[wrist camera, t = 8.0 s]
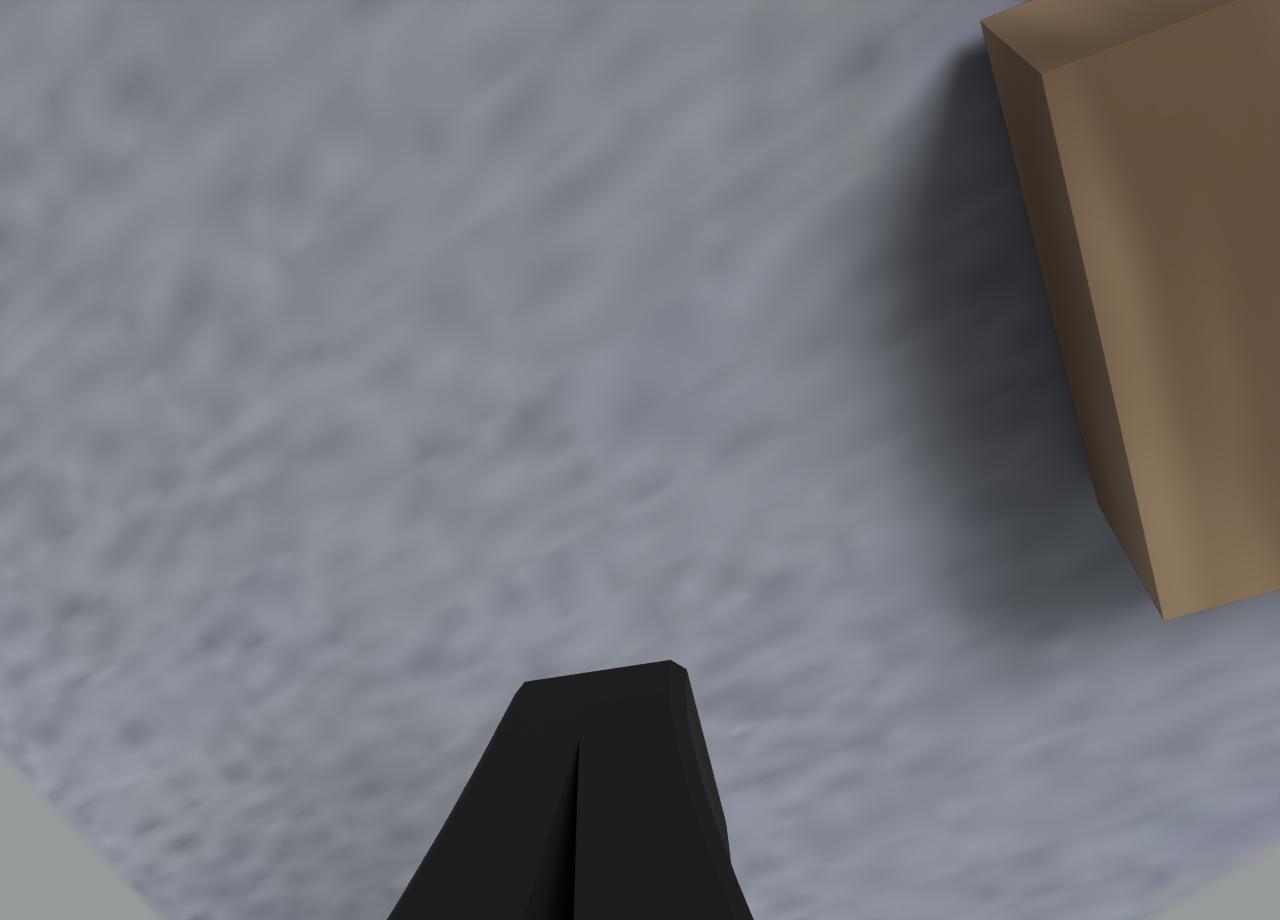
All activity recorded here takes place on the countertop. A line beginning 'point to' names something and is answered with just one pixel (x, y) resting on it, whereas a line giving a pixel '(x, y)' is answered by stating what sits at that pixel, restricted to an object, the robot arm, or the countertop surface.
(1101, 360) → the wooden block
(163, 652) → the countertop surface
